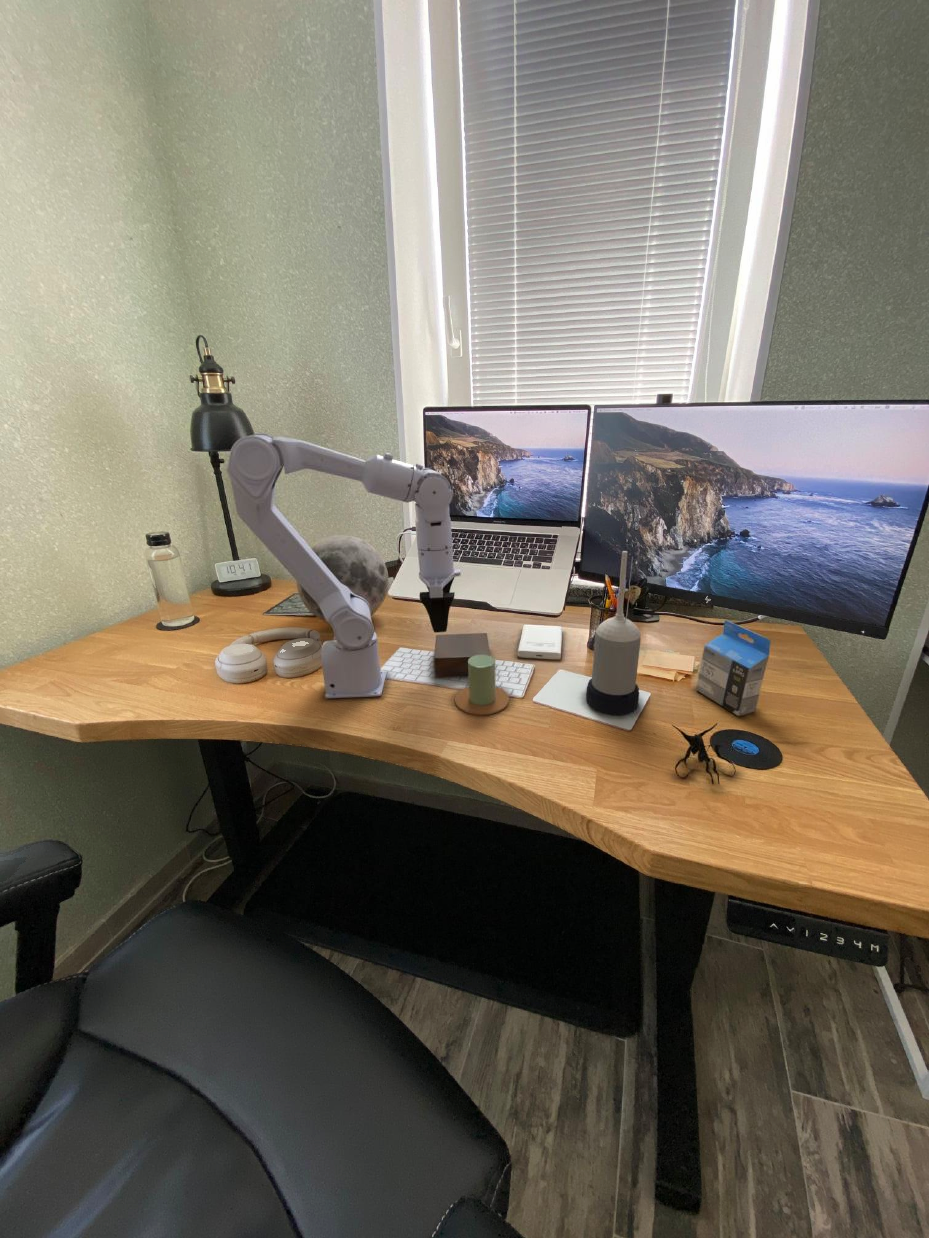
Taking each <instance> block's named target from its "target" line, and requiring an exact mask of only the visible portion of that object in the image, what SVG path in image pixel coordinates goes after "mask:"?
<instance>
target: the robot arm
mask: <svg viewBox="0 0 929 1238" xmlns="http://www.w3.org/2000/svg"><path fill="white" fill-rule="evenodd" d="M228 456H229V457H228V461H227V465H226V466H227V467H226V473H227V475H228V478H229V479H230V480H229V481H230V485H231V490H232V494H233V500H234V505H235V510H236V513H237V515H238V517H239V518H240V519H241V521H242V522H243V523H244V524H245V525H246V526H247V528H249V530H250V531H251V532H252V534H254V535H255V536H256V538H258V540H259V541H260V542H261V543H262V544H263V545H264V546H265V548H266V549H268V551H269V552H270V553H271V554H272V555H273V557H275V558H276V560H277V561H278V562H279V563H280V565H281V566H283V567H284V569H286V571H287V572H288V573H289V574H290V575H291V576H292V577H293V578H294V580H295V581H296V580H297V582H298V583H299V584H300V585H301V586H302V587H303V588H304V589H305V590H306V592H307V593H308V594H309V595H310V596H311V597H312V598H313V599H314V600H315V602H316V603H317V604H318V605H319V607H320V609H321V611H322V613H323V615H324V617H325V619H326V621H327V622H326V623H328V624H329V625H330V627H331V629H332V631H333V636H334V637H333V639H331V640H325V641H324V642H322V643H323V644H322V646H321V653H320V661H321V668H322V669H321V670H322V677H323V681H324V688H325V698H326V699H345V698H346V699H347V698H371V697H380V696H382V694H383V690H384V686H385V683H386V679H387V672H386V671H382V669H381V661H380V651H379V641H378V634H377V633H376V632H375V626H374V623H373V621H372V616H371V608H370V605H369V604H368V602H367V601H366V600H365V599H364V598H362V597H360V596H357V595H355V594H354V593H352V592H351V591H350V589H349V588H348V587H347V586H345V585H343V584H342V583H340V582H339V581H338V579H337V578H336V577H335V576H334V575H333V574H332V572H331V571H330V570H329V569H328V568H327V567H326V565H325V564H324V563H323V562H322V561H321V560H320V558H319V557H318V556H317V555H316V554H315V552H314V551H313V550H312V549H311V548H310V547H311V546H310V545H309V544H308V543H307V542H306V541H305V539H304V538H303V537H302V536H301V534H299V532H298V531H297V530H296V529H295V528H294V527H293V525H292V524H291V523H290V522H289V521H288V519H286V517H285V516H284V515H283V514H282V512H281V511H280V510H279V509H278V508H277V507H276V505H275V499H276V490H277V481H278V479H279V477H280V475H281V473H282V471H283V469H284V474H285V475H288V474H291V473H295V472H299V471H302V470H306V469H307V470H313V471H316V472H320V473H324V474H330V475H332V476H337V477H342V478H346V479H349V480H350V479H351V480H354V481H357V482H361V483H362V485H363V487H364V488H365V490H366V492H367V493H370V494H372V495H377V496H380V497H385V498H389V499H392V500H395V501H399V502H403V503H411V502H414V511H415V519H414V520H415V521H414V523H415V534H416V535H415V536H416V544H417V547H416V548H417V556H418V567H419V568H418V569H419V572H418V578H419V580H420V581H421V582H422V583H423V584H424V585H425V586H426V588H427V591H419V600H420V602H421V604H422V605H423V606H424V608H425V610H426V612H427V615H428V618H429V622H430V624H431V628H432V631H433V633H446V632H447V630H448V623H449V615H450V611H451V610H450V609H451V607H452V603H453V601H454V599H455V594H456V593H455V591H452V592H451V589H452V585H453V582H454V580H455V578H456V577H461V576H462V570H461V569H460V568H455V567H454V552H453V551H454V549H453V534H452V519H451V515H450V504H451V503H452V500H453V496H454V490H453V489H452V485H451V483H450V481H449V480H448V479H447V478H446V477H445V475H443V474H441V473H439V472H438V471H436V470H434V469H431V468H430V467H424V465H423V464H422V463H418V462H417V463H416V464H415V465H414V464H411V463H407V462H403V461H401V460H397V459H394V455H393V454H391V453H388V452H384V453H383V455H381V454H374V455H373V456H371V457H370V458H368V459H361V458H359V457H355V456H353V455H349V454H346V453H343V452H339V451H338V450H334V449H330V448H327V447H324V446H321V445H318V444H315V443H312V442H310V441H309V442H308V441H305V440H302V439H298V438H291V437H286V436H285V437H284V436H275V437H274V436H272V435H271V434H267V433H263V432H260V433H259V432H258V433H253V434H251V435H246V436H243V437H241V438H238V439H237V440H236V441H235V442H234V443H233V445H232V446H231V448H230V452H229V455H228ZM297 582H296V583H297Z"/></svg>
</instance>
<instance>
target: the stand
mask: <svg viewBox="0 0 929 1238" xmlns="http://www.w3.org/2000/svg"><path fill="white" fill-rule="evenodd" d="M434 644H435V645H434V656H433V657H434V658H433V663H434V675H435V679H440V678H466V677H468V660H469V658H471V657H473V656H476V655H488V656H491V651H490V643H489V637H488V633H487V632H475V633H474V632H473V633H452V634H451V633H449V634H445V633H444V634H436V635H435V643H434Z"/></svg>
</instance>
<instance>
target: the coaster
mask: <svg viewBox="0 0 929 1238" xmlns="http://www.w3.org/2000/svg"><path fill="white" fill-rule="evenodd" d="M495 694H496V698H495V701H494V702H492V703H491V704H488V705H476V704H474V703H472V702H471V701H470V700H469V686H467V687H464V688H462V689H461V690H459V691H458V692H457V693H456V695H455V696H454V704H455V706H456V707H457V708H458V709H459V710H460V711H462V712H464V713H466V714H469V715H474V716H475V715H476V716H488V715H489V716H490V715H494V714H496V713H499V712H502V711H503V710H505V709H506V708H507V707H508V705H509V703H510V696H509V694H508V693H507V692H506V691H505V689H503V688H500V687H498V686H496V685H495Z"/></svg>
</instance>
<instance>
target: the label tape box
mask: <svg viewBox="0 0 929 1238" xmlns="http://www.w3.org/2000/svg"><path fill="white" fill-rule="evenodd" d="M739 634H741V635H743V636H745V635H746V636H747V637H748V638H749V639H751V640H752V641H753V642H752V641H750V640H748V639H746V638H743V637H741V636H739ZM771 643H772V642H771V639H769V638H767V637H766V636H763V635H761V634H759V633H757V632H754V631H752V630H750V629H748V628H745V627H743V626H741V625H739V624H736V623H734V622H732V621H730V620H727V619H724V622H723V631H722V633H721V634H720V635H718V636H717V637H715V638H714V639H712V640H711V641H709V642H707V643H706V644H705V645H703V650H702V651H703V652H702V656H701V662H700V666H699V671H698V676H697V680H696V686H695V691H697V692H699V693H700V694H702V695H704V696H705V697H707V698H708V699H710V700H711V701H714V702H715V703H716V704H718V705H720V706H721V707H723V708H724V709H726V710H728V711H729V712H731V713H732V714H734V715H735V716H738V717H741V716H744V715H748V714H751V713H754V712H756V709H757V706H758V701H759V698H760V694H761V693H760V692H761V688H762V685H763V681H764V676H765V672H766V669H767V665H768V661H769V657H770V649H771Z"/></svg>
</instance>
